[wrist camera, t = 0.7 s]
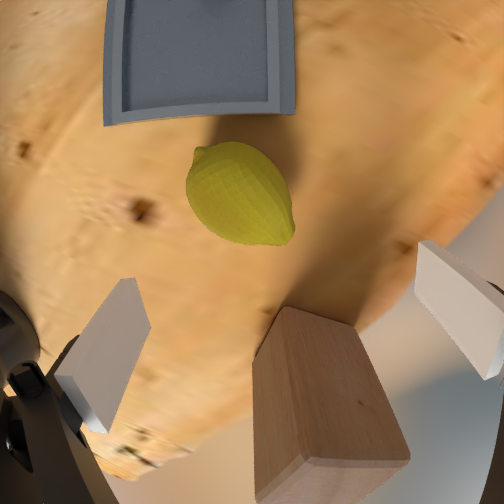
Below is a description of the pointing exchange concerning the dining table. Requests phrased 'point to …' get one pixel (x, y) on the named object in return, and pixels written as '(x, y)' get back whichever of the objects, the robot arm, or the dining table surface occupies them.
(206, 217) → the lemon
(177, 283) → the dining table surface
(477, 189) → the dining table surface
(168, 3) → the base
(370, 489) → the wooden block
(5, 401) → the robot arm
